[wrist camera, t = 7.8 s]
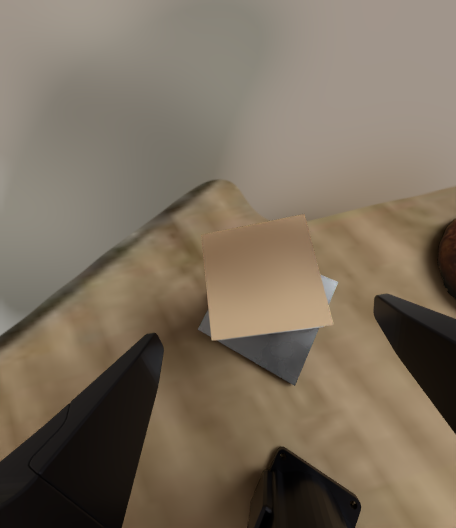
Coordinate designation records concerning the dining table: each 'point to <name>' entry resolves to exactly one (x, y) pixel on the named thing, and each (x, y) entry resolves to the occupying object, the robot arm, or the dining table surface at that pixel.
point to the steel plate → (276, 345)
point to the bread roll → (448, 258)
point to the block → (263, 280)
